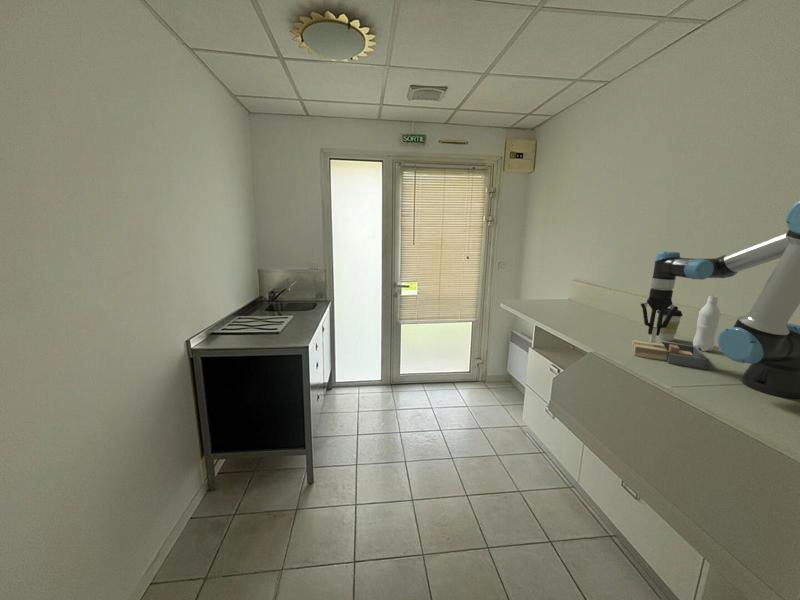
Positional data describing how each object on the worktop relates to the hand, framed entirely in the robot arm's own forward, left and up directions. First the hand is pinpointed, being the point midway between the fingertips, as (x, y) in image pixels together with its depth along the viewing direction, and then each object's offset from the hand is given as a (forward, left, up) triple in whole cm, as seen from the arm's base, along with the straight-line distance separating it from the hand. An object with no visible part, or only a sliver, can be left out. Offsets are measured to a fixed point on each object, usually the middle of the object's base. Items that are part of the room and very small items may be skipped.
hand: (652, 341), depth 142 cm
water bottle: (+20, -22, -6) cm, 30 cm away
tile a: (0, -6, -3) cm, 7 cm away
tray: (0, -11, -6) cm, 12 cm away
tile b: (0, -12, -3) cm, 12 cm away
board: (0, +1, -6) cm, 6 cm away
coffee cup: (+30, -10, -6) cm, 32 cm away
